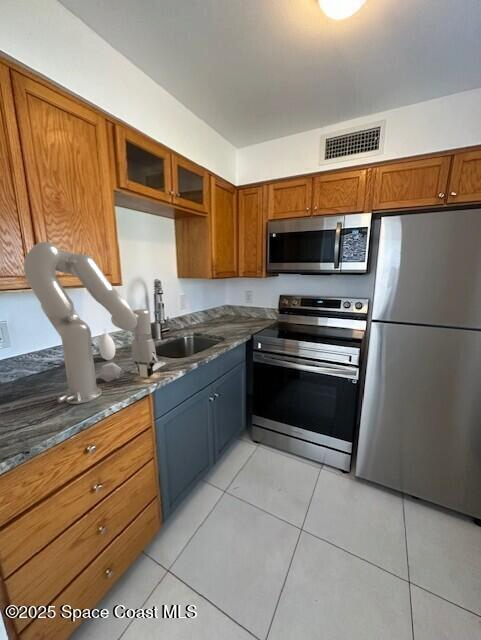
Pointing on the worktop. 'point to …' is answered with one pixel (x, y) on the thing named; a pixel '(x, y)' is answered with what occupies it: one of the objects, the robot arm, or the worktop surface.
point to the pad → (144, 379)
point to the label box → (143, 369)
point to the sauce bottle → (107, 347)
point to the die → (109, 372)
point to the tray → (153, 367)
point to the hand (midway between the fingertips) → (146, 374)
